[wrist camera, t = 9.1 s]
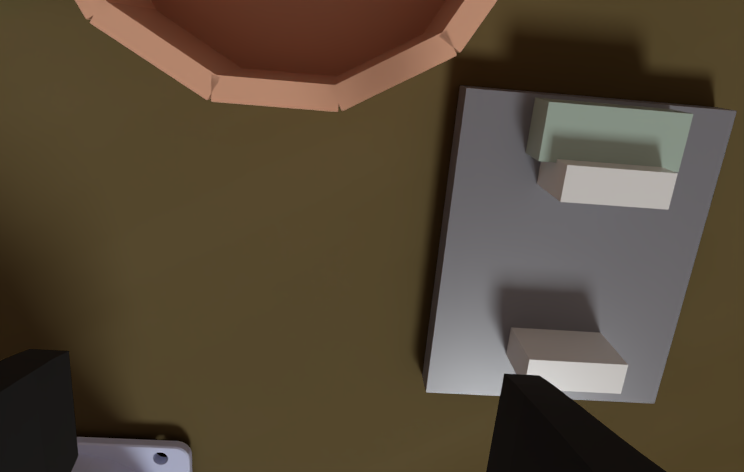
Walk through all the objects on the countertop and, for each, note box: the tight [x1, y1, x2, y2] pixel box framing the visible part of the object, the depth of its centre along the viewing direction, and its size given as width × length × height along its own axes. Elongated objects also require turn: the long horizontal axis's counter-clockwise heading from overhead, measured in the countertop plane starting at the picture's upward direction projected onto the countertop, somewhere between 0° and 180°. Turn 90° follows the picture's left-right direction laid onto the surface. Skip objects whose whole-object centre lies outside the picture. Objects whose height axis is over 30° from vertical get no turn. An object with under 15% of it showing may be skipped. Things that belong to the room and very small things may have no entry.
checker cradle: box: [422, 85, 737, 403], centre depth 18 cm, size 8×10×3 cm
